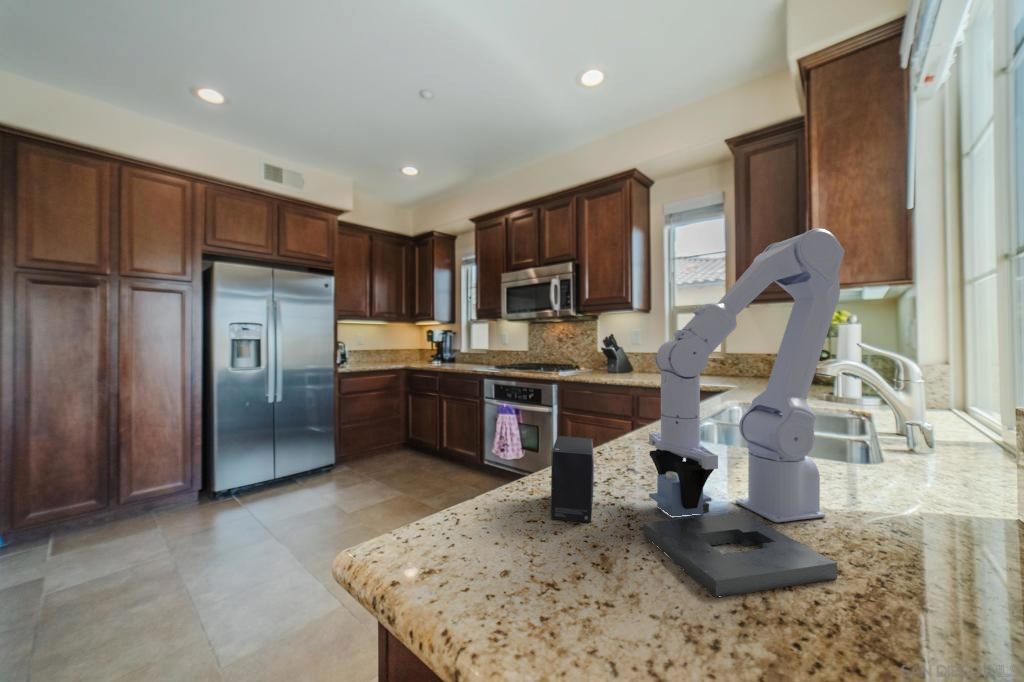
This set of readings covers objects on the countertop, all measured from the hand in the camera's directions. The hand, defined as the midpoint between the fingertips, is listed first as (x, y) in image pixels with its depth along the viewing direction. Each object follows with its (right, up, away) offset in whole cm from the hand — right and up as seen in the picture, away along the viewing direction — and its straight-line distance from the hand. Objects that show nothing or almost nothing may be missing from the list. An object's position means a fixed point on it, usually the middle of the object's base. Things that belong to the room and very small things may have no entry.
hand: (679, 501), depth 64 cm
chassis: (+1, -2, -13) cm, 13 cm away
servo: (0, -2, 0) cm, 2 cm away
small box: (-17, -2, +1) cm, 17 cm away
